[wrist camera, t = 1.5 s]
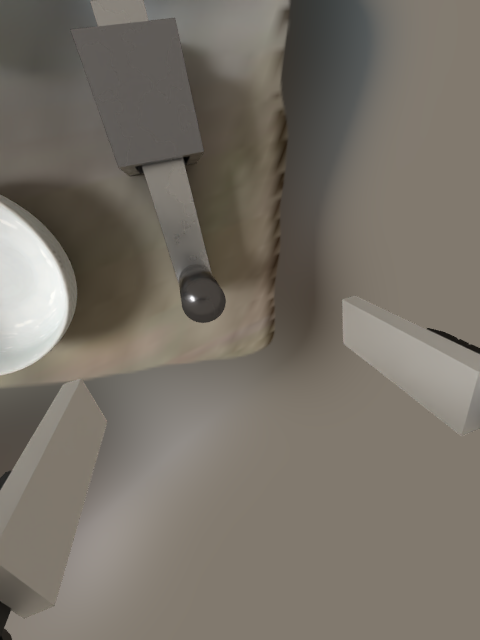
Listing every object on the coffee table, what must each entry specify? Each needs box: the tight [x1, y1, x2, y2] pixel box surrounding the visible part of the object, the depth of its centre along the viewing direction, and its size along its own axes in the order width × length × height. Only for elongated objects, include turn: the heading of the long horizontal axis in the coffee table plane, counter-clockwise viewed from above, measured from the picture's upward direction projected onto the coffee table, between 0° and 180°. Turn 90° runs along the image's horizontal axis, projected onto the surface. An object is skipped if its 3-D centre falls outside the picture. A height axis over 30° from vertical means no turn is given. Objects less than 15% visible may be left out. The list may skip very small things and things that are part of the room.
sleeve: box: [70, 18, 204, 176], centre depth 22 cm, size 7×8×6 cm
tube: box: [90, 0, 226, 323], centre depth 22 cm, size 4×23×10 cm, turn 12°
